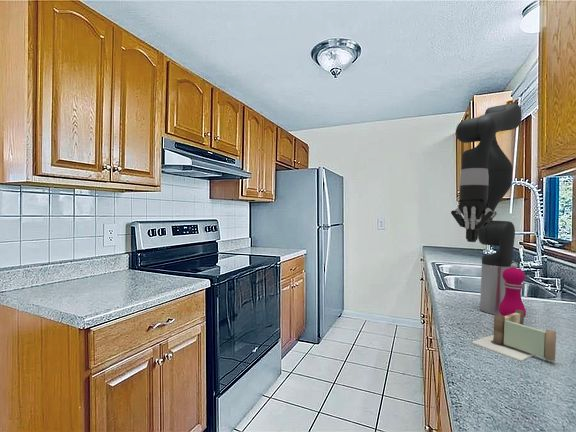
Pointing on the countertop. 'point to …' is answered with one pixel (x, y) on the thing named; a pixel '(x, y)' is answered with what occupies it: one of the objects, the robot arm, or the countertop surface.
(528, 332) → the fence gate
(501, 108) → the robot arm
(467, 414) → the countertop surface
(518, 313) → the fence fixed
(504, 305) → the pepper mill
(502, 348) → the card
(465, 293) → the countertop surface
